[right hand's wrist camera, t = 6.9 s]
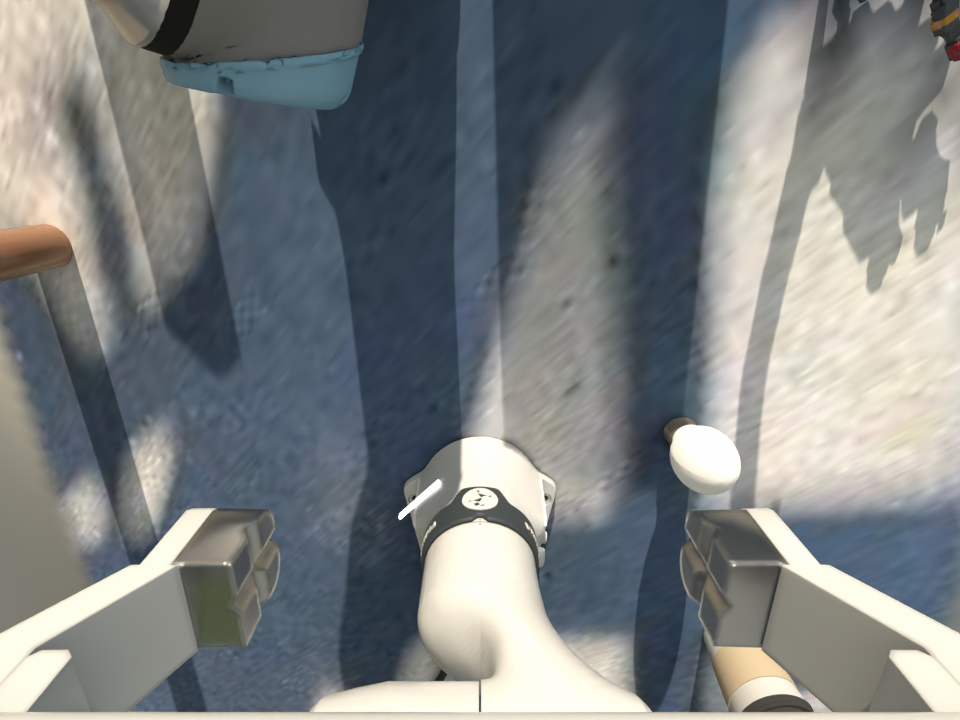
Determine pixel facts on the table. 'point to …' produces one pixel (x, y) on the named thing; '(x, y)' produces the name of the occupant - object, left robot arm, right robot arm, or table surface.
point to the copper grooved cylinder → (32, 250)
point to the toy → (946, 25)
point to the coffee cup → (754, 681)
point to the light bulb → (702, 456)
